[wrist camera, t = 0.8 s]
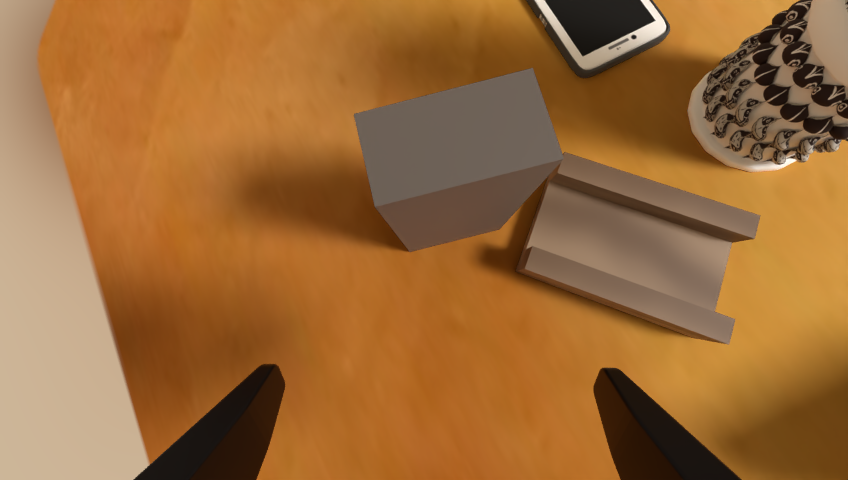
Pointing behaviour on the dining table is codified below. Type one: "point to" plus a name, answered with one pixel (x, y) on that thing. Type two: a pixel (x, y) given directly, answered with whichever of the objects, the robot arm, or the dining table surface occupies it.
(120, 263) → the dining table surface
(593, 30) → the cell phone
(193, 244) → the dining table surface
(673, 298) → the tray
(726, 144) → the decorative candle
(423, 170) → the grey rectangular box
